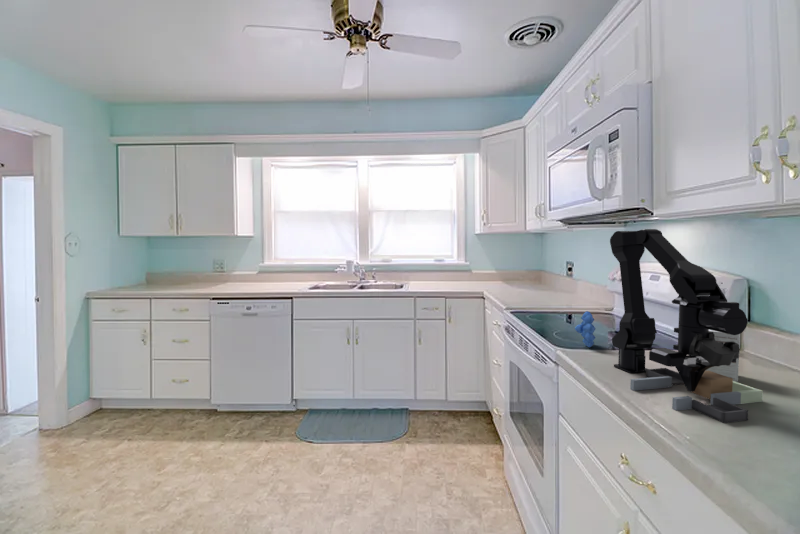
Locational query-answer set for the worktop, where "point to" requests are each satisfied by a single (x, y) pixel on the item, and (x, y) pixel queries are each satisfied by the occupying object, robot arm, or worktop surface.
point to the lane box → (718, 407)
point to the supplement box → (733, 367)
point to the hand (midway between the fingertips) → (690, 391)
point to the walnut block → (713, 384)
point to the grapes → (586, 329)
